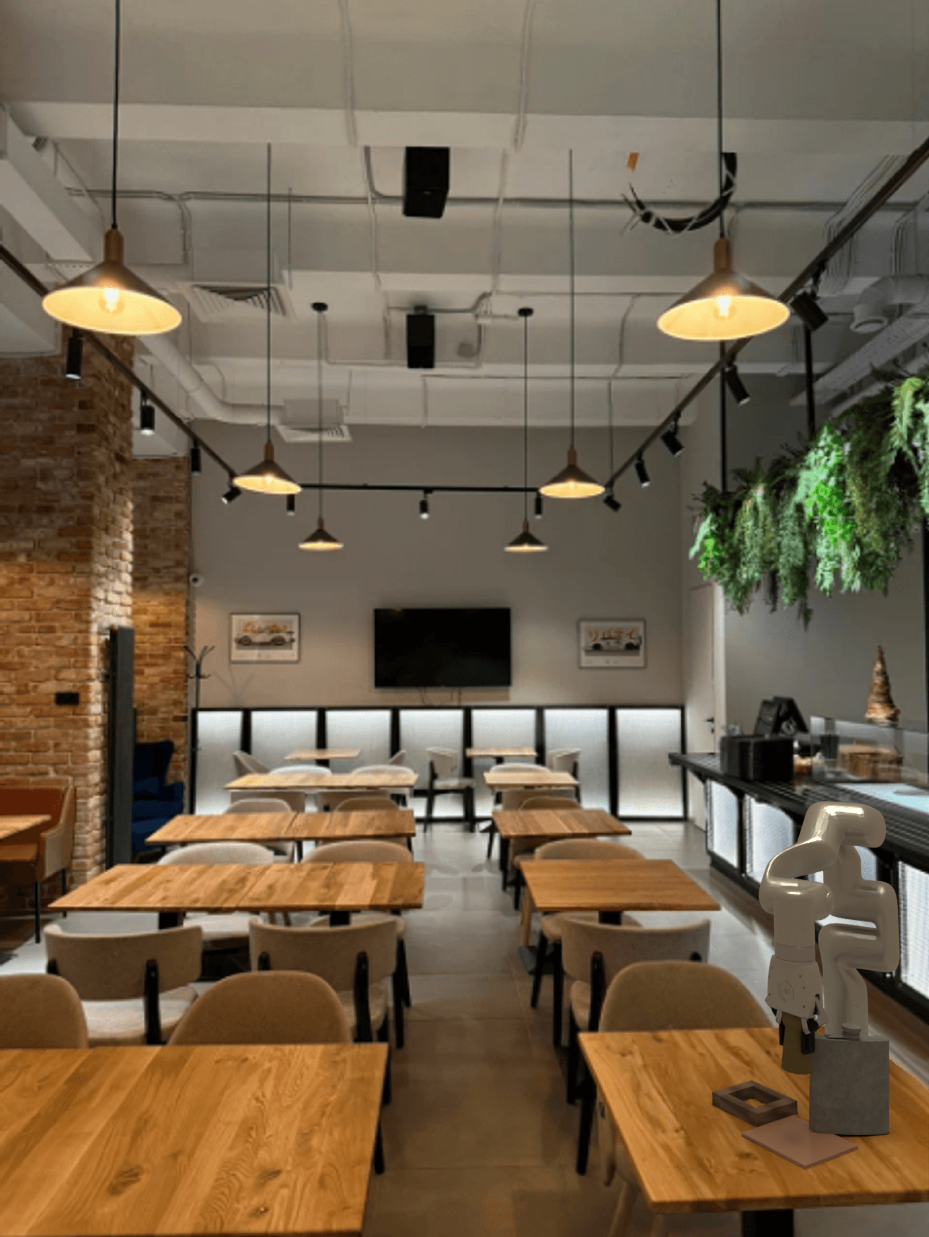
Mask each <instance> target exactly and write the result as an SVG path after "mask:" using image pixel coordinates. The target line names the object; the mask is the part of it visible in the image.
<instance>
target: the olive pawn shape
mask: <svg viewBox="0 0 929 1237" xmlns="http://www.w3.org/2000/svg"><path fill="white" fill-rule="evenodd" d="M782 1021H783V1024H784V1025H785V1034H784V1043H783V1046H782V1051H781V1052H782V1053H781V1063H780V1068H781V1070H784V1071H785V1072H788V1073H790V1074H793V1075H801V1076H802V1075H803V1076H804V1075H810V1074H811V1073H813V1072H814V1068H813V1062H812V1055H811V1053H810V1054H807V1055H804V1054H802V1053H801V1033H802V1032H804V1031H803V1026H802V1021H801V1018H799V1017H796V1016H793V1015H791V1014H788V1013H785V1012H783V1014H782ZM808 1022H809V1024H810V1020H809V1019H808Z"/></svg>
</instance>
